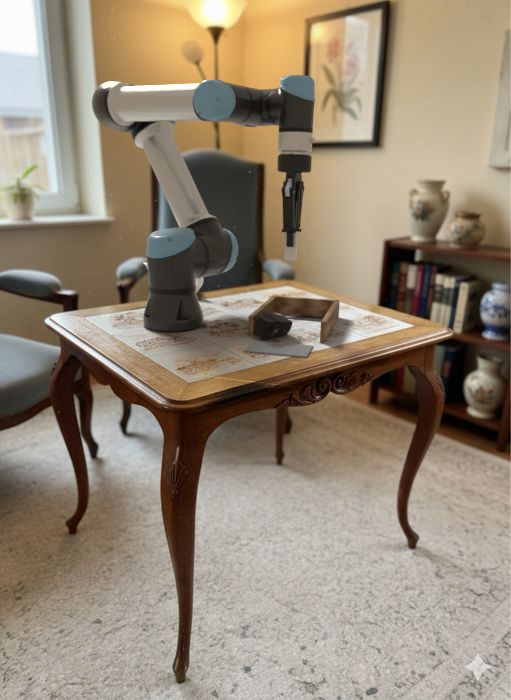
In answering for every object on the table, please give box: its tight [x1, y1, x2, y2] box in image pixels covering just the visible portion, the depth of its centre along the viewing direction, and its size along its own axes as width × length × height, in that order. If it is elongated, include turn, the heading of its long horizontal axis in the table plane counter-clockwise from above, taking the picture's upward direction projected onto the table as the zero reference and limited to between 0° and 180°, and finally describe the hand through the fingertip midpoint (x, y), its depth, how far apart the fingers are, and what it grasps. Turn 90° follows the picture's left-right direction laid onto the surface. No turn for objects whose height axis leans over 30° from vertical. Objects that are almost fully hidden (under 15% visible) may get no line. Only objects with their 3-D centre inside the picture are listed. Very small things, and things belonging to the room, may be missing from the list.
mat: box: [242, 339, 314, 359], centre depth 119 cm, size 14×8×1 cm, turn 74°
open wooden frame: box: [247, 295, 340, 344], centre depth 136 cm, size 18×24×5 cm
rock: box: [256, 311, 293, 339], centre depth 127 cm, size 8×11×10 cm
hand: (290, 260), depth 126 cm, fingers closed
